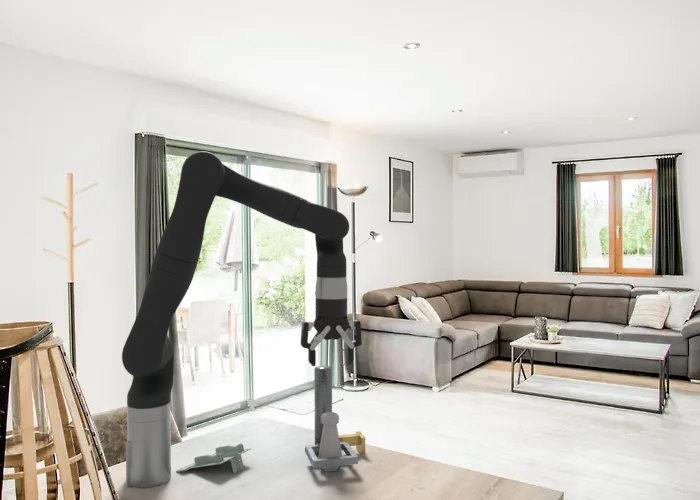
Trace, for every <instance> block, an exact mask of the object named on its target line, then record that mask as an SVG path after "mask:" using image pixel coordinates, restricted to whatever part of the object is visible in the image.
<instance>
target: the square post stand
mask: <svg viewBox="0 0 700 500" xmlns="http://www.w3.org/2000/svg"><path fill="white" fill-rule="evenodd" d="M313 372H314V444H309V445H304V446H305V447H304V452H305V455H306V456H307V458H308V460H309V462H310V464H311V466H312V469H320V468H321V469H322V467H332V466H339V467H340V466H349V465H357V464H359V456H358V455H357V454H356V452H355V451H354V449H353V448H352V447H354V446H355V449H356V450H357V451H358V452H359V454H360V456H365V455H366V436H365V435H364V434H363V433H362V431H360V430H358V431H355V433H350V434H347V433H346V434H338V435H339V441H340V446H341V452H343V453H345V455H344V456H343V455H342V457H331V458H321V459H318V455H319V449H320V443H321V437H322V430H323V424H322V423H321V415H322V414H323V413H326V412H333V367H332V366H329V365H317V366H314V371H313Z"/></svg>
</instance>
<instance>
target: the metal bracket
mask: <svg viewBox="0 0 700 500" xmlns="http://www.w3.org/2000/svg"><path fill="white" fill-rule="evenodd" d="M250 450H252V449H251V448H245V447H244V444H243V443H239V444H237V445H235V446H233V445H224V446H218V447H216V448H215V452H214V453H212V454H205V455H199V456H196V457H194V462H193V463H190V464H188V465H186V466H184V467H181V468H179V469H177V470H176V471H175V472H176V473H181V472H182V473H183V472H186V471H188V470H190V469H195V468H202V467H210V466H215V465H221V464H224V463H225V462H228V461H230V465H231V470H232V473H233V475H234V474H235V475H236V473H238V472H240V471H242V470H244V469H245V466H244V462H243V461H244V460H243V457H242V454H244V453H247V452H248V451H250Z"/></svg>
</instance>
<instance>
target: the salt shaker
mask: <svg viewBox="0 0 700 500" xmlns="http://www.w3.org/2000/svg"><path fill="white" fill-rule="evenodd" d="M321 423H322V424H323V430H322V437H321V443H320V449H319V455H318V459H321V458H331V457H342V456H343V453H342V452H343V451H341V446H340V441H339V435H340V434H339V430H338V426H337V425H338V424H339V423H340V416H339V414H338V413H336V412H334V411H332V412H326V413H323V414H322V415H321ZM339 467H340V466H332V467H322V468H321V469H322V471H325V472H336V471H338V470H339Z"/></svg>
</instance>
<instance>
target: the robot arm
mask: <svg viewBox="0 0 700 500" xmlns="http://www.w3.org/2000/svg"><path fill="white" fill-rule="evenodd" d="M180 171H181V172H180V177H179V184H178V189H177V194H176V197H175V198H176V199H175V202H174V206H173V208H172V210H171V213H170V217H169V218H168V221H167V222H166V226H165V228H164V230H163V232H162V234H161V237H160V240H159V243H158V246H157V249H156V251H155V255H154V256H153V260H152V264H151V268H150V272H149V275H148V279H147V282H146V283H145V284H146V285H145V288H144V292H143V295H142V299H141V303H140V306H139V309H138V312H137V315H136V317H135V321H134V322H133V325H132V326H131V329H130V331H129V334H128V336H127V338H126V341H125V343H124V346H123V347H122V353H121V360H122V365H123V368H124V369H125V371H126V372H127V373H128V374H129V375H131V376H132V381H131V386H130V387H129V390H128V392H127V394H126V395H127V396H126V400H127V401H126V406H127V407H126V411H127V413H126V417H127V418H126V422H127V423H126V425H127V426H126V429H127V430H126V431H127V433H126V435H127V436H126V437H127V440H126V443H125V487H135V488H149V487H150V488H151V487H156V486H159V485H162V484H164V483H167V482H168V481H169V480H170V479H171V477H172V473H171V472H172V463H171V461H172V457H171V456H172V454H171V452H172V449H171V448H172V445H171V444H172V443H171V442H172V439H171V438H172V437H171V433H172V432H171V431H172V429H171V427H172V426H171V425H172V424H171V417H172V416H171V414H172V413H171V395H172V390H173V385H174V369H175V368H174V367H175V366H174V365H175V358H174V357H175V356H174V355H175V351H174V350H175V349H174V345H173V342H172V339H171V338H170V337H169V335H168V332H169V329H170V325H171V323H172V320H173V318H174V316H175V313H176V312H177V310H178V308H179V306H180V305H181V303H182V301H183V300H184V298H185V296H186V294H187V293H188V291H189V288H190V286H191V284H192V281H193V279H194V276H195V273H196V270H197V266H198V263H199V260H200V255H201V253H202V252H201V251H202V246H203V242H204V237H205V236H204V234H205V228H206V223H207V218H208V215H209V213H210V210H211V208H212V205H213V202H214V201H215V198H216V197H219V198H223V199H227V200H230V201H233V202H235V203H237V204H238V203H239V204H241V205H244V206H246V207H248V208H250V209H253V210H254V211H256V212H259V213H260V214H262V215H264V216H267V217H269V218H271V219H273V220H276V221H277V222H280V223H283V224H286V225H288V226H290V227H293V228H296V229H302V230H305V231H307V232H310V233H312V234H313V235H314V238H315V248H316V257H317V258H316V259H317V260H316V283H315V292H314V295H315V314H314V315H315V318H314V321H306V320H302V322H301V333H300V346H301V347H302V348H304V349H307V351H308V353H307V354H308V360H307V361H308V363H309V364H310V365H311V366H312V367H317V366H316V363H317V362H316V361H317V360H316V359H317V357H316V355H317V354H316V352H317V350H316V348H317V347H318V345H319V344H320V343H321V342H323V340H325V341H328V340H329V341H330V340H337V341H338V340H339V339H341V340H342V341H343V342H344V343H345V345H346V348H345V363H346V365H349V366H350V365H352V363H353V362H354V352H355V351H354V349H355V348H356V347H360V346H361V345H362V326H361V321H360V320H359V319H354V320H349V319H348V281H347V257H346V255H345V253H344V238H346V236H347V235H348V233H349V231H350V222H349V220H348V218H347V217H346V215H344V214H343V213H342V212H340V211H338V210H337V209H333V208H330V207H327V206H324V205H321V204H317V203H314V202H312V201H309V200H307V199H306V198H303V197H301V196H299V195H297V194H293V193H292V192H289V191H286V190H284V189H282V188H279V187H275V186H273V185H270V184H266V183H263V182H260V181H258V180H255V179H252V178H250V177H247V176H245V175H243V174H241V173H239V172H237V171H235V170H233V169H232V168H230V167H228V166H227V165H225V164H224V163H223V162H222V161H221V159H220V158H219V157H218V156H216V155H215V154H213V153H212V152H208V151H196V152H194V153H192V154H191V155H189V156H188V157H186V159H185V161H184V162H183V163H182V166H181V170H180ZM349 327H350V329H351V330H353V340H351V338H350V337H349V336H348V334H347V333H346V331H347V330H348V328H349ZM312 328H314V330H315V331H316V333H315V334H314V335H313V337H312V339H311V341H310V342H309V341H308V340H309V332H311V331H312Z"/></svg>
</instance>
